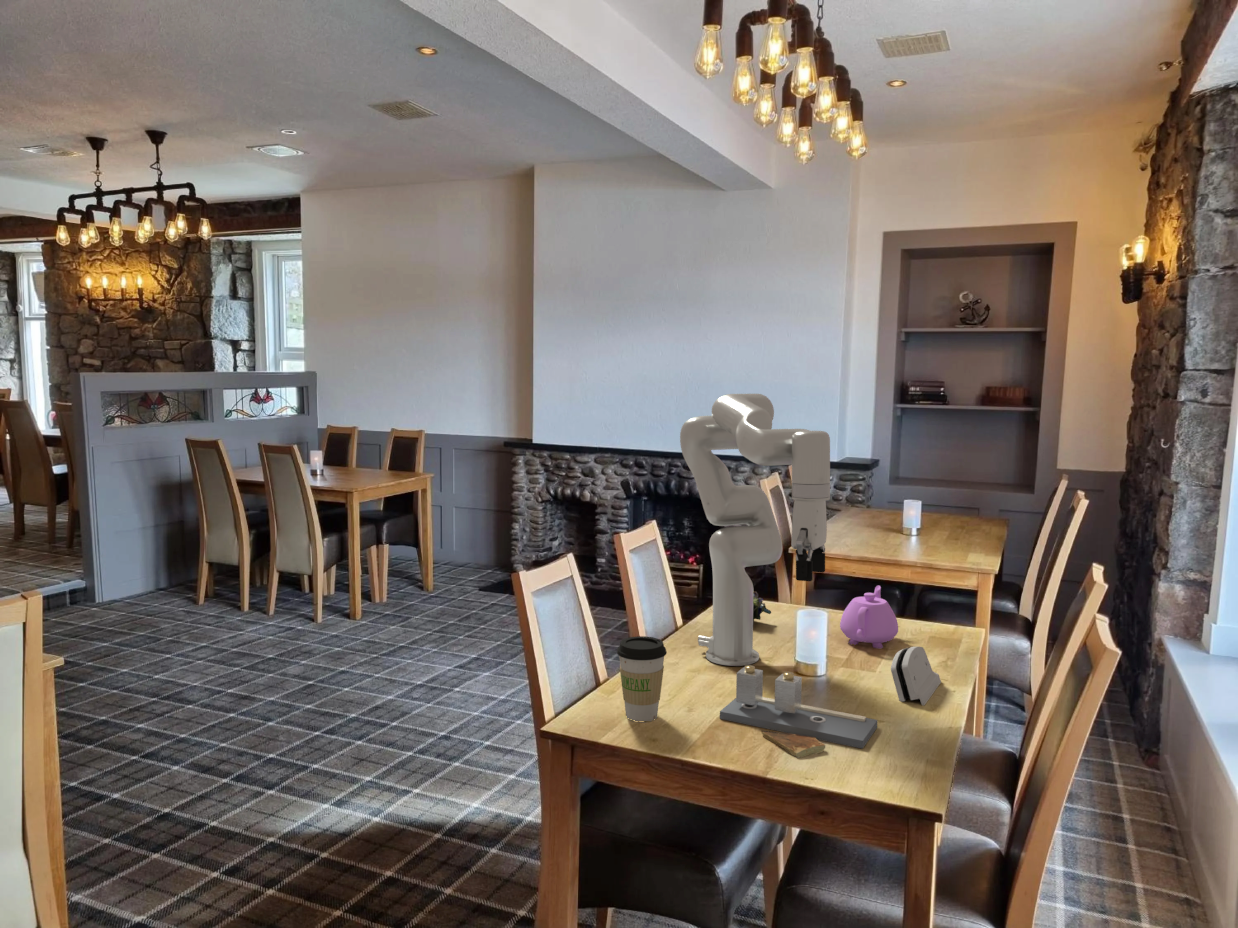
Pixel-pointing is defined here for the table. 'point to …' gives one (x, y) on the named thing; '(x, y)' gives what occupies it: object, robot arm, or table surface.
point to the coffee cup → (641, 676)
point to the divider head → (788, 692)
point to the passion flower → (758, 607)
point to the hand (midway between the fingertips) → (810, 576)
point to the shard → (795, 743)
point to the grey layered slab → (914, 675)
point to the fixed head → (749, 685)
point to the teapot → (869, 620)
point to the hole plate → (804, 722)
